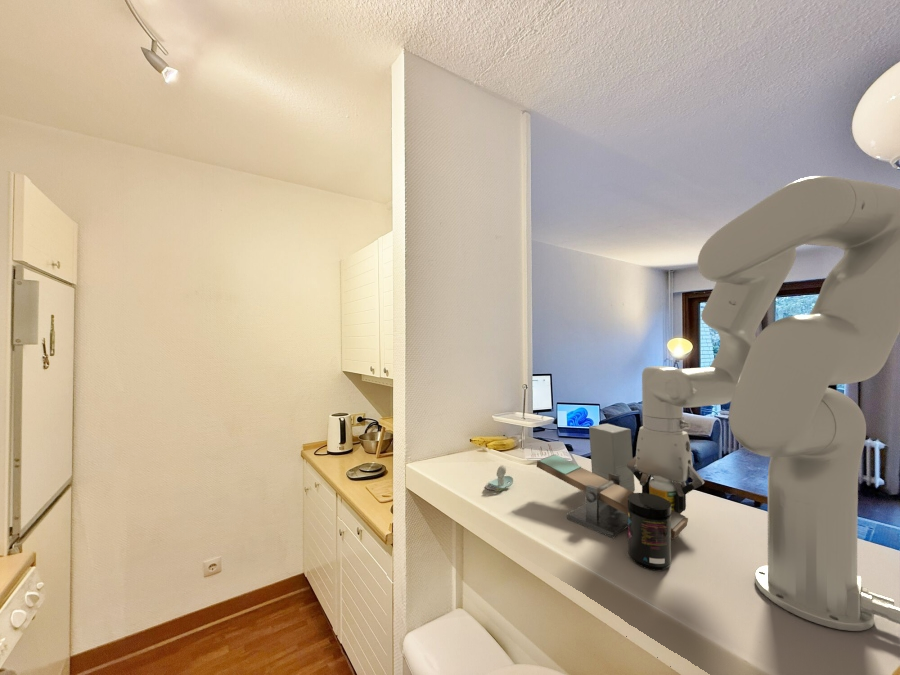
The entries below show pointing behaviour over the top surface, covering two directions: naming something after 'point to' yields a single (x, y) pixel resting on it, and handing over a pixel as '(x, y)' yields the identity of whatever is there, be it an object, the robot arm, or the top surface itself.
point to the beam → (607, 489)
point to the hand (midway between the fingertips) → (663, 506)
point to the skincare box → (612, 453)
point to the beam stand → (600, 512)
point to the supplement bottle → (663, 489)
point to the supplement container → (649, 531)
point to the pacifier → (500, 480)
